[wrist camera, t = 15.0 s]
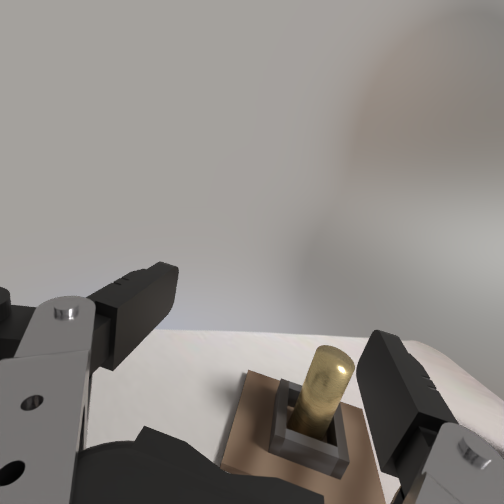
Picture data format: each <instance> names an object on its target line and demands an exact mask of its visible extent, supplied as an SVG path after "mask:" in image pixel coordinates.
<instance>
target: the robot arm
mask: <svg viewBox="0 0 504 504" xmlns="http://www.w3.org/2000/svg"><path fill="white" fill-rule="evenodd" d="M178 273H179V270H178V267H176V266H173V265H170V264H167V263H164V262H158V263H156V264H155V265H153V266H151V267H150V268H148V269H141V270H137V271H133V272H130V273H128V274H127V275H125V276H123V277H122V278H119V279H118V280H116V281H114V283H111V284H109V285H107V286H105V287H103V288H102V289H100V290H98V291H96V292H95V293H93V294H91V295H90V296H88V297H86V298H84V297H80V296H64V297H58V298H54V299H50V300H48V301H46V302H44V303H42V304H41V305H39V306H38V307H27V306H17V305H11V300H10V293H9V291H8V290H7V289H5V288H2V287H0V504H324V495H321V494H319V493H316V492H313V491H311V490H308V489H306V488H303V487H301V486H298V485H295V484H293V483H290V482H288V481H285V480H283V479H280V478H277V477H265V476H253V475H240V474H230V473H227V472H225V471H223V470H222V469H220V468H219V467H218V466H217V465H215V464H214V463H213V462H211V461H210V460H209V459H207V458H206V457H205V456H204V455H202V454H201V453H200V452H198V451H197V450H196V449H194V448H193V447H192V446H191V445H189V444H188V443H187V442H185V441H182V440H180V439H177V438H174V437H172V436H169V435H167V434H164V433H162V432H159V431H156V430H154V429H151V428H149V427H146V426H144V427H143V429H142V430H141V432H140V433H139V435H138V436H137V438H136V440H135V441H115V442H109V443H103V444H100V445H96V446H93V447H90V448H87V449H86V441H87V430H88V419H89V409H90V399H91V389H92V378H93V372H95V371H96V370H97V369H98V368H99V367H103V368H106V369H108V370H111V371H114V370H115V368H116V367H117V366H118V365H119V364H120V363H121V362H122V361H123V360H124V359H125V358H126V357H127V356H128V355H129V354H130V353H131V352H132V351H133V350H134V349H135V348H136V347H137V346H138V345H139V344H140V343H141V342H142V341H143V340H144V339H145V337H146V336H147V335H148V334H149V333H150V332H151V331H152V330H153V329H154V328H155V327H156V326H157V325H158V324H159V323H160V322H161V321H162V320H163V319H164V318H165V317H166V316H167V315H168V313H169V312H170V310H171V308H172V306H173V303H174V299H175V293H176V286H177V280H178ZM356 377H357V382H358V386H359V389H360V393H361V397H362V401H363V405H364V409H365V412H366V416H367V420H368V424H369V428H370V431H371V435H372V439H373V443H374V447H375V451H376V454H377V458H378V462H379V466H380V470H381V472H384V473H386V474H389V475H392V476H394V477H397V478H399V481H400V484H401V486H400V488H399V489H398V490H397V492H396V493H395V495H394V497H393V500H392V502H391V504H504V459H503V458H502V457H501V455H500V454H499V453H498V452H497V451H496V450H495V449H494V448H493V447H492V446H491V445H490V444H489V443H487V442H486V441H485V440H484V439H483V438H481V437H480V436H479V435H477V434H476V433H474V432H473V431H471V430H469V429H467V428H465V427H463V426H461V425H459V424H458V422H457V420H456V419H455V417H454V416H453V414H452V412H451V411H450V409H449V408H448V406H447V404H446V403H445V401H444V400H443V398H442V396H441V395H440V393H439V391H437V390H436V387H435V385H434V383H433V382H432V380H430V377H429V375H428V374H427V372H426V371H425V369H424V367H423V366H422V365H421V364H420V363H419V362H418V361H417V360H416V359H415V358H414V357H413V356H412V355H411V354H409V353H408V352H407V350H406V348H405V347H404V345H403V343H402V342H401V340H400V338H399V337H398V336H396V335H393V334H390V333H386V332H383V331H380V330H374V332H373V333H372V334H371V336H370V338H369V340H368V342H367V345H366V347H365V349H364V351H363V353H362V355H361V357H360V359H359V362H358V365H357V370H356Z"/></svg>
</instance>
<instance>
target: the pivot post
mask: <svg viewBox="0 0 504 504" xmlns="http://www.w3.org/2000/svg"><path fill="white" fill-rule="evenodd" d="M354 370H355V365H354V362H353V361H352V359H351V358H350V357H349V356H348V355H347V354H346V353H344V352H343V351H341V350H340V349H338V348H335V347H333V346H328V345H322V346H319V347H318V348H317V350H316V352H315V355H314V358H313V360H312V363H311V365H310V368H309V370H308V373H307V376H306V378H305V381H304V383H303V386H302V389H301V391H300V394H299V396H298V399H297V402H296V404H295V407H294V409H293V412H292V414H291V417H290V420H289V422H288V429H289V430H292V431H295V432H297V433H300V434H303V435H306V436H308V437H311V438H314V439H316V440H319V441H322V440H323V437H324V435H325V433H326V431H327V429H328V427H329V424H330V422H331V420H332V418H333V416H334V413H335V411H336V409H337V407H338V405H339V403H340V400H341V398H342V396H343V394H344V392H345V389H346V387H347V385H348V383H349V381H350V379H351V376H352V374H353V372H354Z"/></svg>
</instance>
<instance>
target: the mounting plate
mask: <svg viewBox="0 0 504 504" xmlns="http://www.w3.org/2000/svg"><path fill="white" fill-rule="evenodd" d="M301 389H302V386H301V385H298V384H295V383H293V382H290V381H287V380H284V379H281V380H280V381H279V380H276V379H273V378H270V377H267V376H265V375H262V374H259V373H256V372H253V371H250V370H248V373H247V376H246V380H245V383H244V386H243V390H242V393H241V397H240V400H239V404H238V407H237V411H236V414H235V418H234V421H233V425H232V428H231V431H230V435H229V438H228V442H227V445H226V449H225V452H224V456H223V459H222V463H221V466H220V469H222V470H224V471H226V472H229V473H232V474H240V475H253V476H265V477H277V478H280V479H283V480H285V481H288V482H290V483H293V484H295V485H298V486H301V487H303V488H306V489H308V490H311V491H313V492H316V493H319V494H321V495H324V504H386V502H385V498H384V494H383V490H382V486H381V482H380V478H379V474H378V470H377V466H376V462H375V458H374V454H373V450H372V446H371V442H370V438H369V434H368V431H367V427H366V423H365V419H364V415H363V411H362V409H360V408H357V407H354V406H352V405H349V404H346V403H343V402H340V403H339V405H338V407H337V409H336V411H335V413H334V416H333V418H332V420H331V422H330V424H329V427H328V429H327V431H326V433H325V435H324V437H323V440H322V441H319V440H316V439H314V438H311V437H308V436H306V435H303V434H300V433H297V432H295V431H292V430H289V429H288V422H289V420H290V417H291V414H292V412H293V409H294V407H295V404H296V402H297V399H298V396H299V394H300V391H301Z"/></svg>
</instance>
